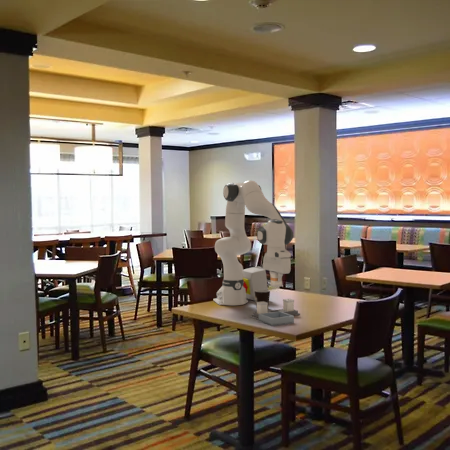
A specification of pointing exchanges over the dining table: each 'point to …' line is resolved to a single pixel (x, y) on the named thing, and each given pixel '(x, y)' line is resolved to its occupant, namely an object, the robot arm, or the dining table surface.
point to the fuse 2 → (288, 304)
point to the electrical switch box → (254, 281)
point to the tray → (276, 318)
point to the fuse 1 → (262, 307)
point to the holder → (293, 313)
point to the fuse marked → (275, 279)
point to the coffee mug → (262, 296)
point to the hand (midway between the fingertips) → (276, 280)
